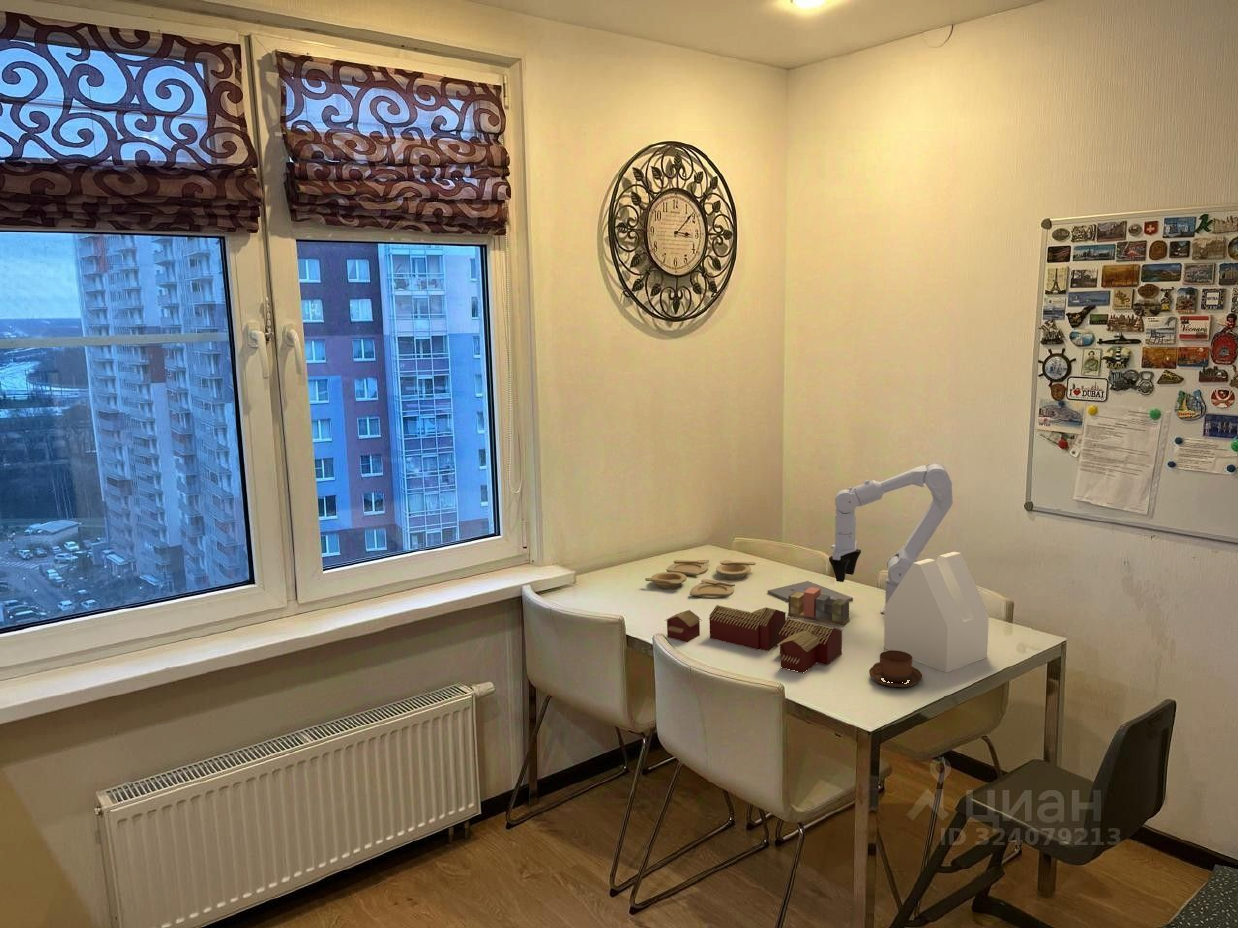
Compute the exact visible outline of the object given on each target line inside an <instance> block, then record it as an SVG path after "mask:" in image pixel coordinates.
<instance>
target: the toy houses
mask: <svg viewBox="0 0 1238 928" xmlns="http://www.w3.org/2000/svg"><path fill="white" fill-rule="evenodd" d="M786 614H787V612H785V611H781V610H779V609H775V608H770V607H767V606H766V607H763V608H760V609H757V610H754V611H753V612H750V611H747V610H741V609H738V608H732V607H726V606H722V605H719V604H717V605H715V607H714V608H713V610H712V611H711V613H710V614H709V617H708V620H709V639H712V640H716V641H721V642H723V643H724V642H725V643H729V644H732V645H737V646H741V647H744V648H748V649H754V650H756V651H757V650H758V651H759V650H763V651H767V652H770V651H771V650H773V648H775V647H778V645H779V654H780V668H781V667H782V668H781V669H783V668H787V669H790V670H789V671H791V670H795V671H798V672H797V673H799V672H802V673H801V674H804V673H803V672H805V671H806V670H807V671H809V670H810V669H811V668H813V667H814V666H815V665H816V663H817V662H818V663H817V664H822V665H825V666H829V664H831V663H832V662H833V661H835V660H836V659H837V658H839V657H840V656H841V655H842V654H843V630H842V629H839V628H835V627H832V626H826V625H823V624H818V623H812V622H808V621H803V620H797V619H794V618H786ZM664 622H666V632H667V636H666V638H668V639H672V640H676V641H680V642H685V643H688V642H689V643H690V641H693V640H695V639H696V638H698V637H699V636H700V635H701V632H700V631H701V630H700V629H701V628H700V626H701V625H700V624H701V623H700V622H703V620H702V619H701V618H700V616H698V615H697V614H695V613H694V612H693V611H691V610H690V609H688V610H685V611H680V612H679V613H675V614H674V615H671V616H670V617H667V618H666V619H664ZM813 665H814V666H813ZM812 666H813V667H812ZM809 668H810V669H809ZM787 669H786V670H787ZM808 669H809V670H808ZM795 671H794V672H795ZM807 671H806V672H807ZM806 672H805V673H806Z"/></svg>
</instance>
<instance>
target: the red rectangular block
mask: <svg viewBox="0 0 1238 928" xmlns="http://www.w3.org/2000/svg"><path fill="white" fill-rule="evenodd" d="M820 595H821V589H819V588H813V587H810V588H809V589H807V590H806V591H805V592H804V616H807V617H813V618H814V617H815V616H816V598H818V597H819V596H820Z"/></svg>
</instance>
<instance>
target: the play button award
mask: <svg viewBox="0 0 1238 928" xmlns="http://www.w3.org/2000/svg"><path fill="white" fill-rule="evenodd" d="M810 587H813V588H819V589H821V595H822V594H823V595H829V596H830V599H833V600H837V599H844V600H849V603H850V602H854V597H852V596H849V595H846V594H843V593H841V592H839V591H835V590H834V589H831V588H828V587H825V586H823V585H819V584H817V583H815V582H812V581H809V580H806V581H801V582H798V583H793V584H790V585H785V586H781V587H776V588H772V589H768V590H767V595H770V596H771V597H774V598H777V599H780V600H782V601H784V602H787V603H788V596H789V595H791V594H792V593H794V592H800V593H804V592H805V591H806V590H807V589H809V588H810Z"/></svg>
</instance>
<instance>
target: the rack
mask: <svg viewBox="0 0 1238 928" xmlns="http://www.w3.org/2000/svg"><path fill="white" fill-rule="evenodd" d="M787 604H788V606H787V607H788V612H787V617H790V618H795V619H801V620H807V621H813V622H818V623H824V624H831V625H836V626H842V627H845V626H846V625H847V624H848V623H849V622H850V621H851V617H850V602H849V600H844V599H837V600H833V599H830V596H829V595H823V594H822V595H820V596H819V597H818V598H816V616H815V617H814V618H813V617H807V616H804V593H800V592H794V593H792V594H791V595H789V596H788V602H787Z"/></svg>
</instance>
